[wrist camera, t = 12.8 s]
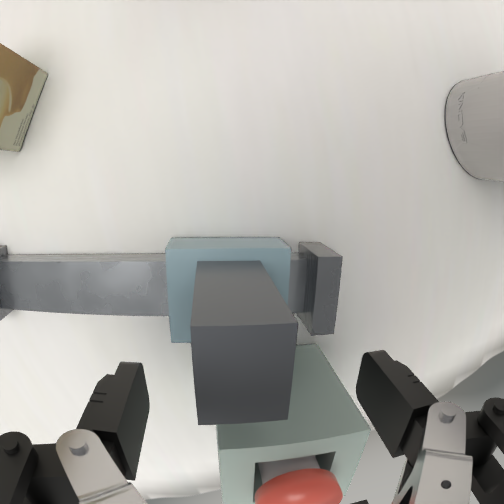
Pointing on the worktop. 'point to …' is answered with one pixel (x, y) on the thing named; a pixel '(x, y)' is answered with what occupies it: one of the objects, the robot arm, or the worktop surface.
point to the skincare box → (17, 97)
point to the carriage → (234, 324)
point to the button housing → (296, 431)
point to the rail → (150, 284)
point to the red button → (297, 483)
